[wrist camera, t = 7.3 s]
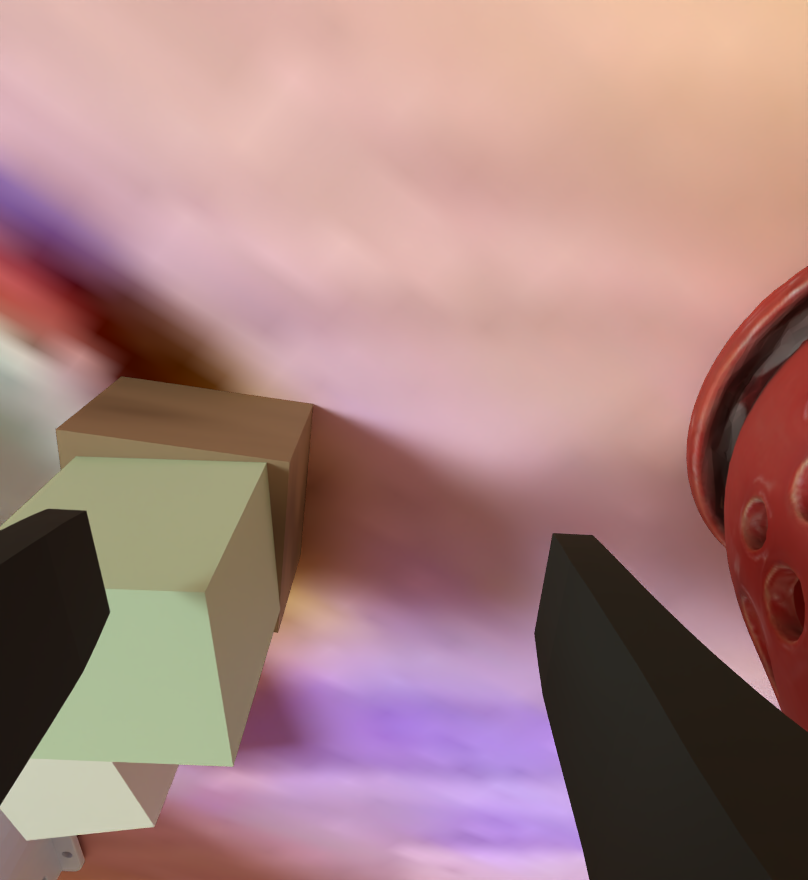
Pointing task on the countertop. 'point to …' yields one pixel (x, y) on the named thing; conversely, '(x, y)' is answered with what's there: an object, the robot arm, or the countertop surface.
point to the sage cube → (168, 608)
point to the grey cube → (86, 797)
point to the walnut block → (205, 444)
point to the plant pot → (762, 480)
